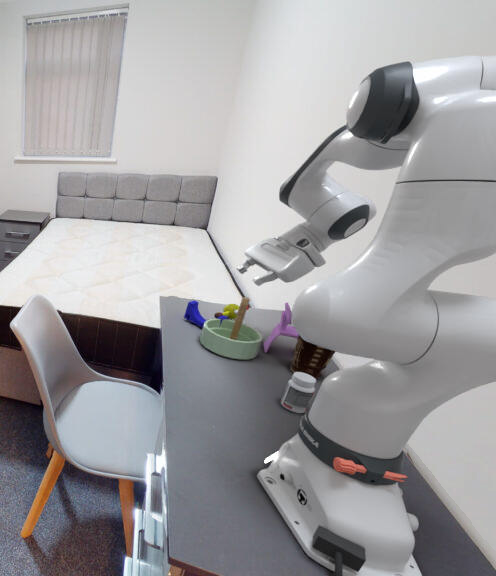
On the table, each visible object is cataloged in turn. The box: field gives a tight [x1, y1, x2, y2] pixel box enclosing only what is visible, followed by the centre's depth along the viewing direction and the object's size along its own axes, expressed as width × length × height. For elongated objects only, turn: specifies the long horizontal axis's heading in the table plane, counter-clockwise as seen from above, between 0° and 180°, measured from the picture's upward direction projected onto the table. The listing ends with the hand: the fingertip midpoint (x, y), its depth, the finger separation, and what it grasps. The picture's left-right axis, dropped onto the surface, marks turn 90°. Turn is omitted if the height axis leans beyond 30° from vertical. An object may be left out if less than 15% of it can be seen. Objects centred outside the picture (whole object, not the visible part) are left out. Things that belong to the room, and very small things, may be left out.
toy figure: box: [213, 303, 250, 321], centre depth 124 cm, size 18×6×7 cm, turn 119°
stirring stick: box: [229, 296, 251, 340], centre depth 107 cm, size 4×4×16 cm
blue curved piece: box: [183, 300, 228, 329], centre depth 121 cm, size 12×4×6 cm, turn 25°
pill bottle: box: [280, 372, 317, 414], centre depth 85 cm, size 5×5×8 cm
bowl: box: [199, 318, 264, 360], centre depth 109 cm, size 15×15×6 cm
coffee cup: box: [289, 332, 336, 380], centre depth 97 cm, size 9×8×13 cm
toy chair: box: [263, 302, 298, 353], centre depth 106 cm, size 8×9×15 cm
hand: (246, 277), depth 102 cm, fingers open, 8 cm apart
